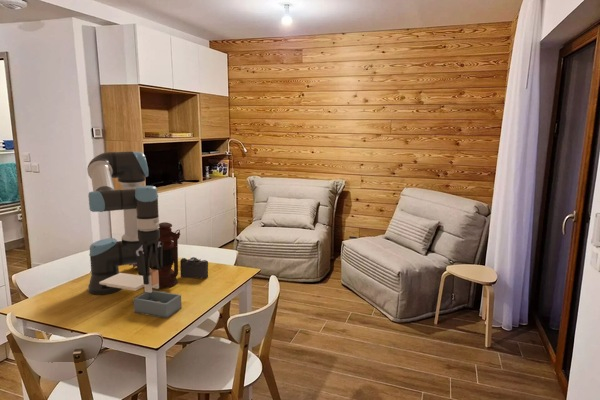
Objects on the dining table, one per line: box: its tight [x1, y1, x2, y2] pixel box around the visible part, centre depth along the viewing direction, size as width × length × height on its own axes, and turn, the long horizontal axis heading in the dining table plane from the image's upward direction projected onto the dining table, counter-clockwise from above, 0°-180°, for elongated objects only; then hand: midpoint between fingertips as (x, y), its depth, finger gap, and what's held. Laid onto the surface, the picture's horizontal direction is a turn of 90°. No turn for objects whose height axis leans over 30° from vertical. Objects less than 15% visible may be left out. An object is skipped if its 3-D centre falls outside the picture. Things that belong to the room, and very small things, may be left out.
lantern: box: [150, 222, 181, 289], centre depth 195 cm, size 17×14×30 cm
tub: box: [133, 289, 183, 319], centre depth 169 cm, size 16×10×6 cm, turn 71°
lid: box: [99, 269, 159, 291], centre depth 153 cm, size 21×11×7 cm, turn 71°
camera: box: [179, 256, 209, 280], centre depth 211 cm, size 14×11×10 cm
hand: (151, 289), depth 151 cm, fingers closed on lid, 3 cm apart
